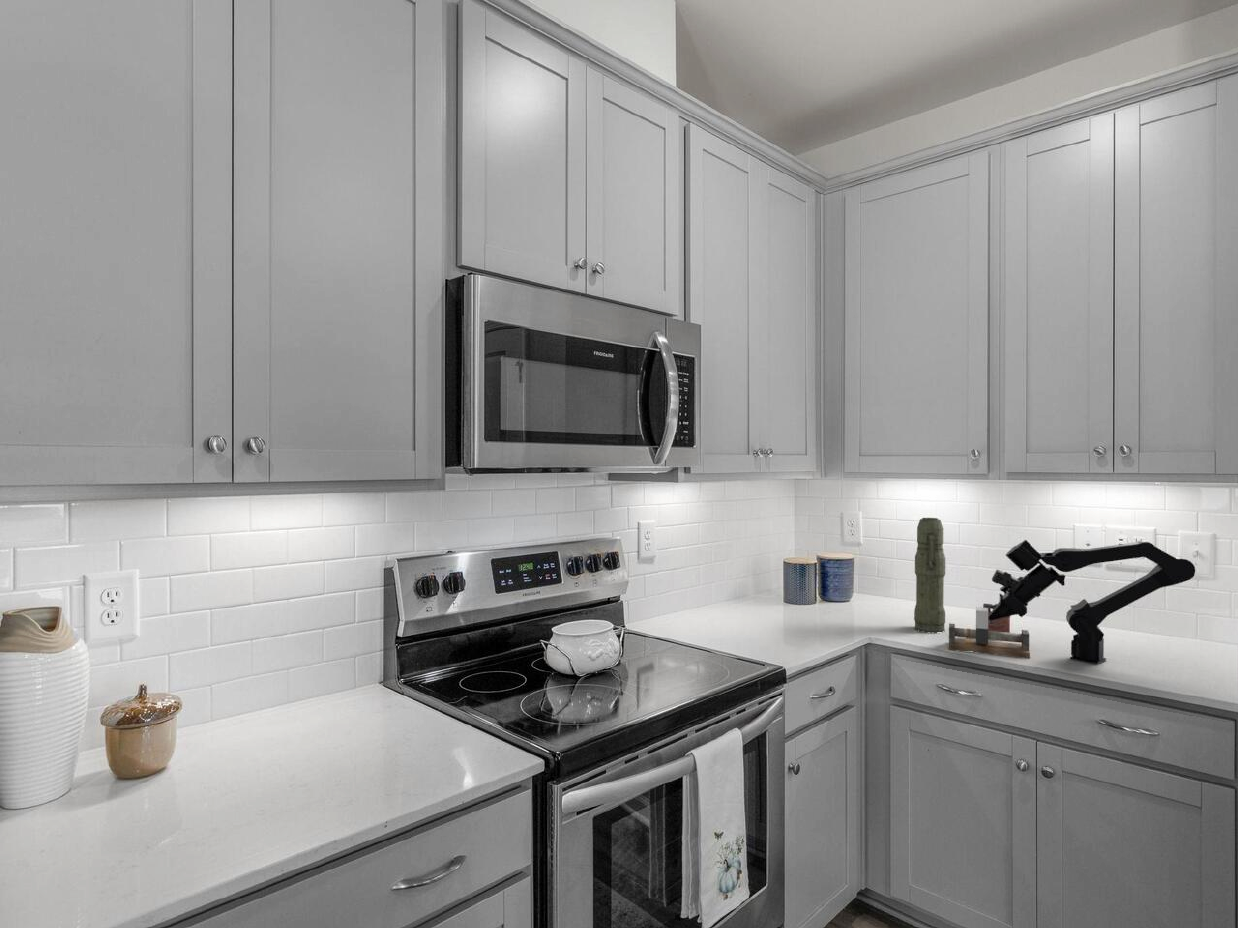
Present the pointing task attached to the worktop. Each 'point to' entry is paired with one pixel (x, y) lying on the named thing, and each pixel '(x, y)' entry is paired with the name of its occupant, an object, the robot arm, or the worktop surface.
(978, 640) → the white slider block
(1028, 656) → the pipe stand
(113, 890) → the worktop surface
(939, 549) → the thermos
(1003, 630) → the lighter
